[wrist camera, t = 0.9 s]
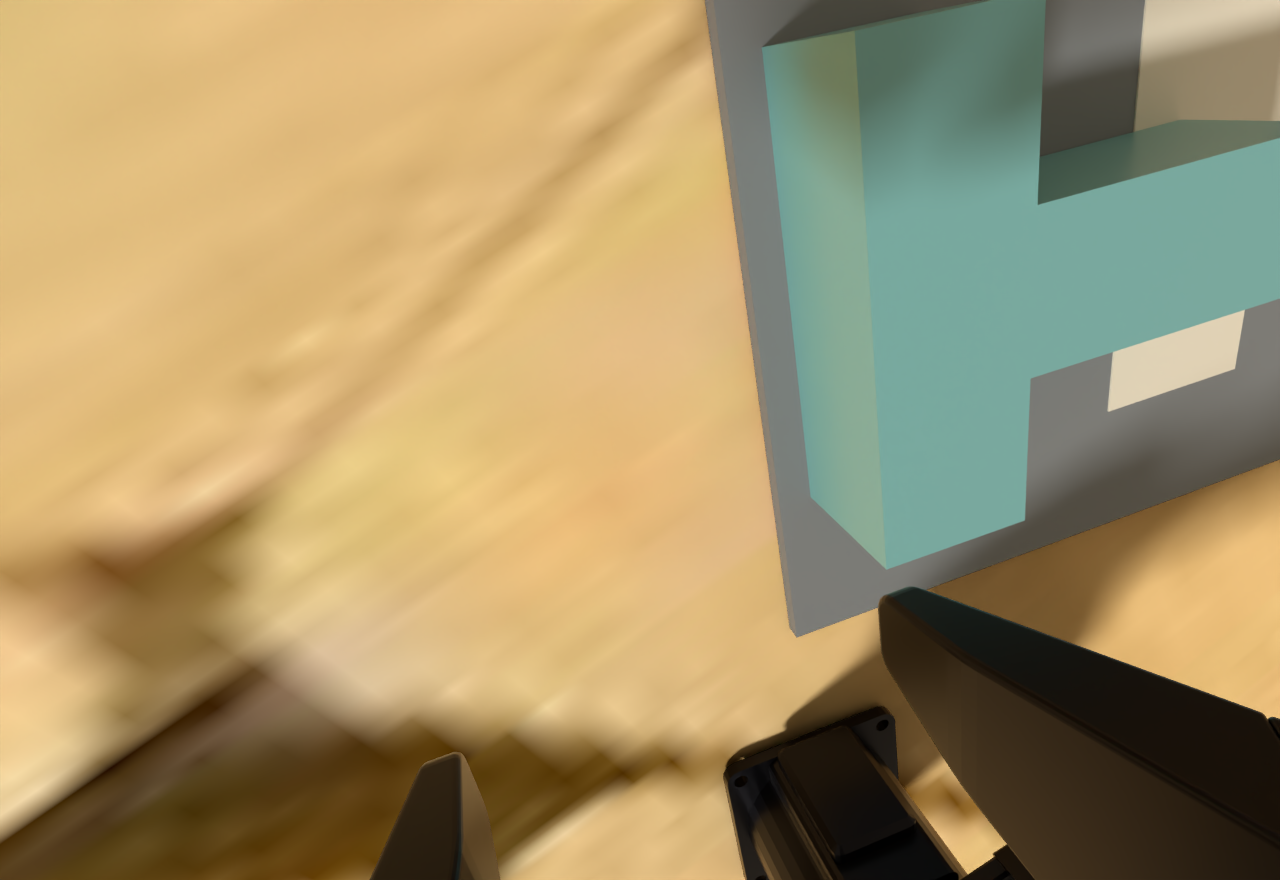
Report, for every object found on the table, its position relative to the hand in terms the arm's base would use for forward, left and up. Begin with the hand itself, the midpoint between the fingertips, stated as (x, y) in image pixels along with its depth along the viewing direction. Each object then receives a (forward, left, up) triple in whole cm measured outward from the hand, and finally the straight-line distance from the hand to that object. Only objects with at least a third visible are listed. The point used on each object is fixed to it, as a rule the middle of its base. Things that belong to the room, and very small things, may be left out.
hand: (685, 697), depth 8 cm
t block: (0, -13, -12) cm, 17 cm away
